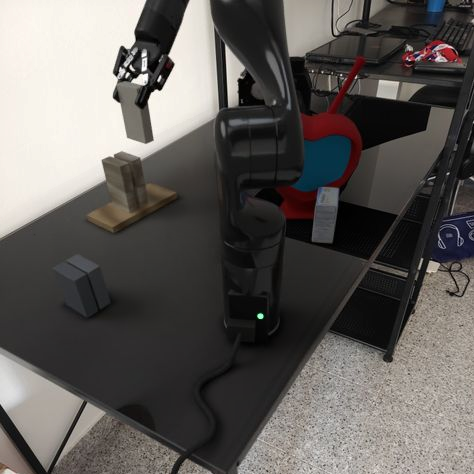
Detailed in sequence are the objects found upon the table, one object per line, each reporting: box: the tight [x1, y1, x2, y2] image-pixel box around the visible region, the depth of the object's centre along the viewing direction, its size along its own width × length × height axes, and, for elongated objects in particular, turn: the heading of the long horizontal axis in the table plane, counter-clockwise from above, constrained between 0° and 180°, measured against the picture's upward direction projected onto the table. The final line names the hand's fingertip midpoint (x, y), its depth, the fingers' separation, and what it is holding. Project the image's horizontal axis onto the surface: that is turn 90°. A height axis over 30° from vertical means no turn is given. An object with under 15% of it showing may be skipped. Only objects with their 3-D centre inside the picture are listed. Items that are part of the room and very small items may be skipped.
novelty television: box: [274, 55, 367, 220], centre depth 89 cm, size 21×13×30 cm, turn 86°
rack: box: [86, 150, 178, 234], centre depth 97 cm, size 20×9×12 cm, turn 142°
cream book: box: [116, 81, 155, 145], centre depth 90 cm, size 2×6×10 cm, turn 52°
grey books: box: [51, 253, 112, 319], centre depth 74 cm, size 5×6×8 cm
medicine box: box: [311, 187, 340, 245], centre depth 89 cm, size 8×4×9 cm, turn 169°
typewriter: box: [236, 55, 319, 116], centre depth 112 cm, size 31×27×25 cm
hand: (127, 103), depth 88 cm, fingers closed on cream book, 6 cm apart
